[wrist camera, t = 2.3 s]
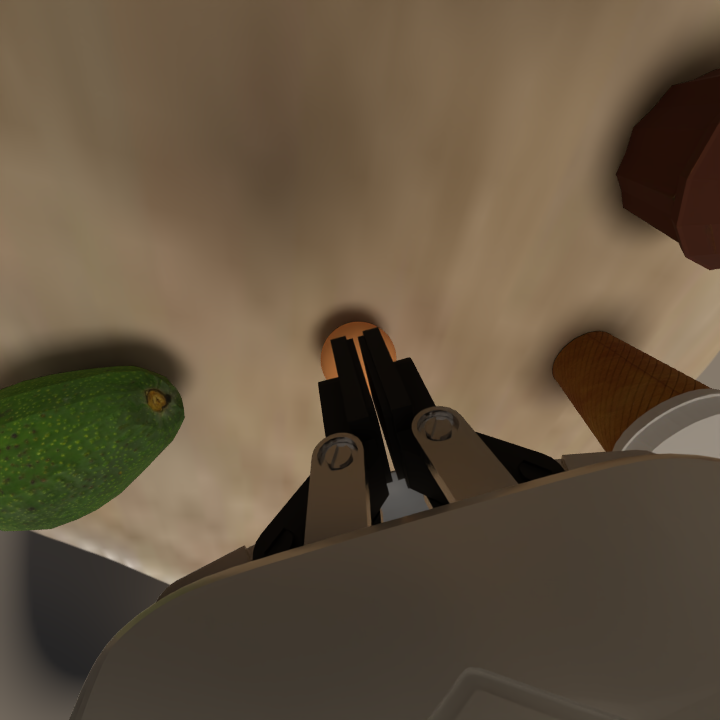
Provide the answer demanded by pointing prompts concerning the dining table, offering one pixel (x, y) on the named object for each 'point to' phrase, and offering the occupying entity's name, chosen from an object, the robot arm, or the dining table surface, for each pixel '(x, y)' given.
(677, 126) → the muffin
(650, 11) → the dining table surface
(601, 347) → the disposable coffee cup
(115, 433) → the fruit
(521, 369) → the dining table surface
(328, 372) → the ball
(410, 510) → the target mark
